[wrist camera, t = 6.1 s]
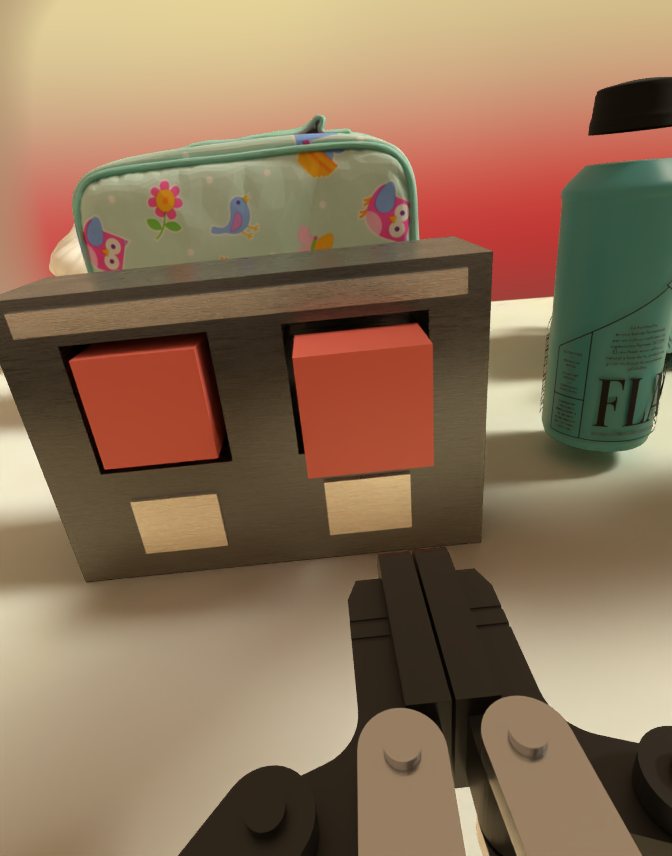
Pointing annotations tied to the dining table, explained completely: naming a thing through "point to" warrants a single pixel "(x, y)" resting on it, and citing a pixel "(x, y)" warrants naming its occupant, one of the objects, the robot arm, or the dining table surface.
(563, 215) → the beverage bottle
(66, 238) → the soft serve ice cream cone
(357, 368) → the rocker outlet
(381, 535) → the dark grey switch housing
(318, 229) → the lunch box
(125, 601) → the dining table surface
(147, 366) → the rocker outlet
